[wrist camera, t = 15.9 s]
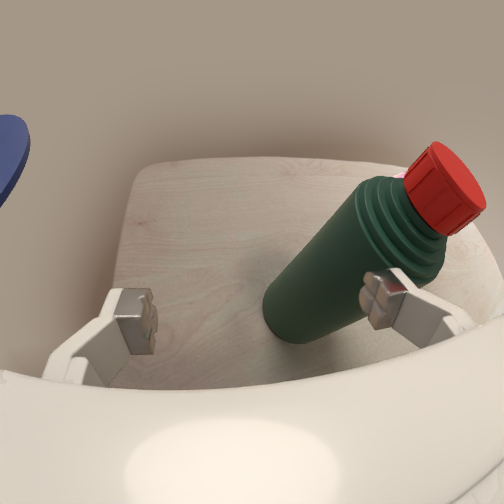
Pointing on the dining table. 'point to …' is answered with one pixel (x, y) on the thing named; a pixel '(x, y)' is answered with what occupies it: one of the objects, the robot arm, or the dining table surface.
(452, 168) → the cap
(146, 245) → the dining table surface
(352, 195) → the bottle
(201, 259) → the dining table surface
